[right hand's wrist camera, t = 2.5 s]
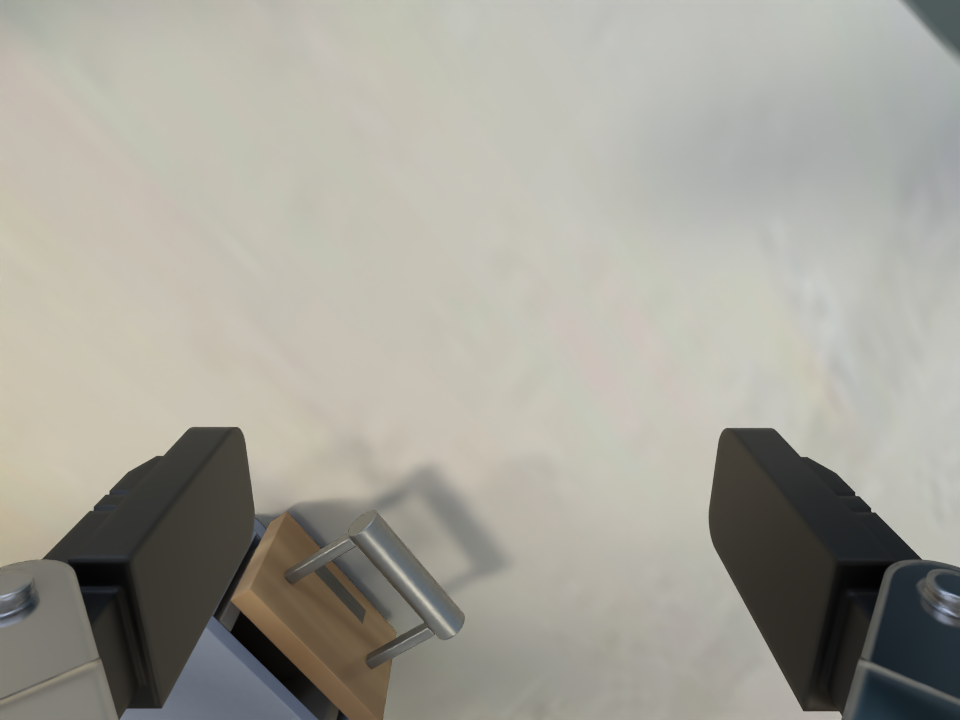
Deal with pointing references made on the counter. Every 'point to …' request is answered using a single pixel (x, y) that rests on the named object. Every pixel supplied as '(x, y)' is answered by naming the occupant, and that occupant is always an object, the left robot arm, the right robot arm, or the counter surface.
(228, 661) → the cabinet
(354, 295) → the counter surface
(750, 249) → the counter surface
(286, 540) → the drawer
